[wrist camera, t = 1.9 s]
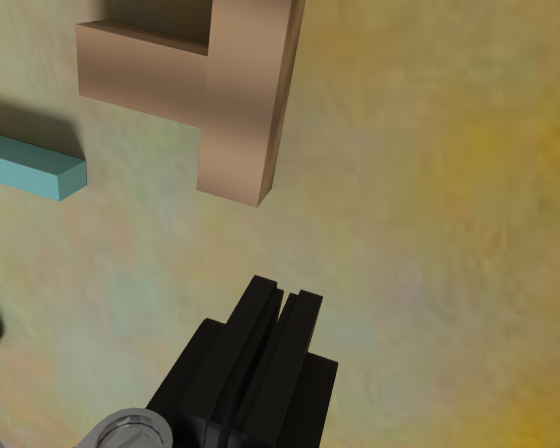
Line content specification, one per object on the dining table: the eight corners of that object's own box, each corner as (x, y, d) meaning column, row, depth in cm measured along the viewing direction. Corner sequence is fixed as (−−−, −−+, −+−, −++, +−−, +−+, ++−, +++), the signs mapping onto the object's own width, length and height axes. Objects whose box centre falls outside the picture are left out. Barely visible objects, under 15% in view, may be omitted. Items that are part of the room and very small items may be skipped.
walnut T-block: (105, -56, 26) (70, -59, 24) (307, -13, 24) (293, -12, 22) (109, 141, 32) (82, 155, 30) (271, 188, 30) (257, 207, 28)
